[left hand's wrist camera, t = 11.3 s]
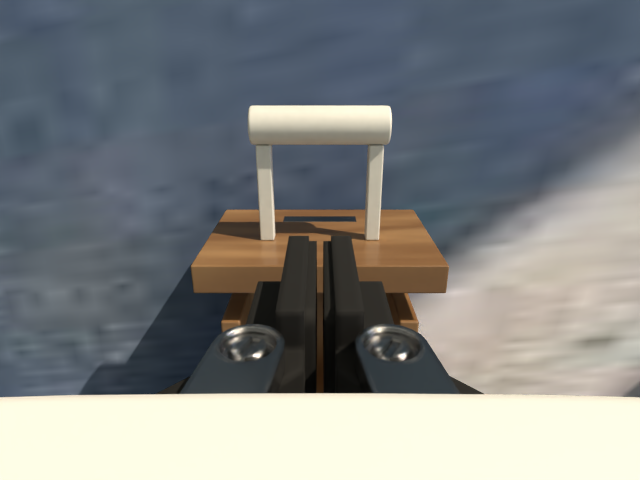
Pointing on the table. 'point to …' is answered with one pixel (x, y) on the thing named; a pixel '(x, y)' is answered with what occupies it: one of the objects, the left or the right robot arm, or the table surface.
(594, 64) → the table surface
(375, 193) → the drawer
